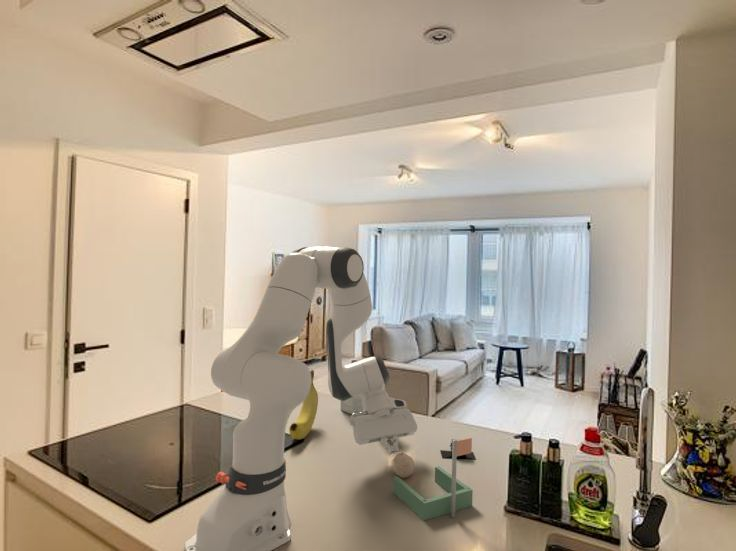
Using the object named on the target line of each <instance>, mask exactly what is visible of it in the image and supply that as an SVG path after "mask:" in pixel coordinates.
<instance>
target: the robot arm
mask: <svg viewBox="0 0 736 551" xmlns="http://www.w3.org/2000/svg"><path fill="white" fill-rule="evenodd" d="M364 269H365V268H364V261H363V258H362V256H361V255H360V254H359V252H358V251H357V250H356V249H354V248H352V247H347V246H341V247H338V246H337V247H335V246H326V245H320V246H312V247H306V246H304V247H299V248H298V249H295V250H293V251H292V252H291V253H288V254H286V255H285V256H283V258H282V259H281V260H280V262H279V263H278V265H277V267H276V268H275V270H274V272H273V274H272V276H271V278H270V280H269V282H268V285H267V287H266V289H265V292H264V295H263V298H262V299H261V303H260V305H259V306H258V307H259V308H258V309H257V312H256V314H255V316H254V318H253V319H252V322H250V324H249V326H248V328H246V330H245V331H244V332H243V334H241V336H240V337H239V339H237V340H236V342H234V343H233V344H232V345H231V346H230V347H228V348H227V349H224V350H223V351H221V352H220V353H219V354H218V355H217V356H216V357H215V358H214V360H213V363H212V365H211V369H210V376H211V381H212V384H213V385H214V386H215V387H216V388H217V389H219V390H220V391H222V392H223V393H225V394H227V395H228V396H230V397H235V398H239V399H243V400H245V401H248V402H249V412H248V415H247V417H246V418H245V419H242V420H241V421H240V422H239V423H238V424H237V425H236V426H235V428H234V430H233V433H232V463H231V464H230V466H229V471H228V473H225V472H224V471H219V472H218V473H217V475H216V476H215V480H216V482H218V483H221V484H223V485H224V484H225V486H224V487H223V488H222V489H221V490H220V492H219V493H218V494H217V496H215V498H214V499H213V500H212V502H211V503H210V504H209V505H208V506H207V508H205V510H204V511H203V512H202V514H201V515H200V518H199V520H198V524H197V530H196V533H195V534H194V535H193V536H192V537H190V538H189V539H188V540H186V541H185V542H184V546H183V547H184V548H183V550H184V551H273V550H275V549H277V548H278V547H281V546H282V545H284V544H286V543H288V542H289V541H290V540H291V538H292V537H291V530H290V527H291V526H290V525H291V519H290V516H289V512H288V507H287V496H286V489H285V480H286V476H287V475H286V474H287V467H286V466H287V465H286V464H287V463H286V459H285V442H286V441H285V438H286V428H287V424H288V421H289V418H290V416H291V415H292V413H293V411H294V410H295V409H296V408H297V407H299V406H300V405H301V404H303V401H304V400H305V399H306V397H307V396H308V394H309V392H310V388H311V382H312V379H311V373H310V372H311V370H310V368H309V366H308V365H307V364H306V363H305V362H303V361H301V360H299V359H297V358H295V357H293V356H290V355H287V354H286V355H285V354H281V353H279V352H280V351H281V350H282V348H283V347H284V346H285V345H287V344H288V343H289V342H291V341H292V340H295V339H296V338H298V337H299V336H300V335H301V333H302V332H303V328H304V326H305V322H306V321H307V320H306V319H307V318H308V314H309V311H310V308H311V304H312V303H313V299H314V296H315V292H316V288H320V289H324V290H325V289H329V291H330V295H331V296H330V297H331V301H332V306H333V308H332V309H333V310H332V315H331V317H330V318H329V319H328V320H327V322H326V327H325V329H326V330H325V333H326V334H325V336H326V339H325V340H326V352H327V353H326V354H327V366H328V367H327V368H328V371H327V372H328V374H327V375H328V376H327V385H328V390H329V393H330V394H331V396H332V397H333V398H335V399H336V400H339V401H340V402H341V401H345V400H347V399H349V398H352V397H353V396H356V395H360V397H361V399H362V406H363V409H364V411H363V412H359V413H353V414H350V417H349V422H350V425H351V427H352V433H353V436H354V440H355V443H356V444H357V445H358V446H362V445H366V444H367V445H368V444H373V443H377V442H380V445H381V446H382V447H384V449H385V450H386V451H387V454H388V455H394V454H399V452H400V449H399V438H402V437H409V436H413V435H415V433H416V432H417V430H418V424H417V422H416V420H415V418H414V415H413V413H412V411H411V410H410V409H408V408H407V407H408V404H407V401H405V400H403V399H397V398H394V397H389V394H388V393H387V391H386V387H387V385H388V383H389V381H390V373H389V372H388V369H387V367H386V365H385V361H384V360H383V359H382V358H381V357H378V356H369V357H366V358H362V359H359V360H357V361H354V362H350V363H348V364H343V361H342V360H343V359H342V357H343V356H342V345H343V343H344V341H345V340H346V339H347V338H348V337H349V336H350V335H352V334H353V333H354V332H355V331H357V330H358V329H360V328H361V327H362V326H364V325H365V324H366V323H367V321H368V320H369V318H371V315H372V311H373V303H372V297H371V291H370V288H369V285H368V280H367V278H366V276H365V273H364ZM389 440H390V441H391V442H392V443H393V445H390V444H389V442H388V441H389Z"/></svg>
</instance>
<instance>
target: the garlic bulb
mask: <svg viewBox="0 0 736 551" xmlns="http://www.w3.org/2000/svg"><path fill="white" fill-rule="evenodd" d="M392 469H393V471H394V474H396V476H398V477H399V478H400V479H401V478H402V479H408V478H409V477H410V476H411V475H412V474H413V473H414V469H415V461H414V459H413V458H412V456H410V455H408V454H407V453H404V452H403V451H402V452H400V453H399V452H398V453H396V455H394V458H393V459H392Z"/></svg>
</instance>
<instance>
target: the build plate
mask: <svg viewBox="0 0 736 551" xmlns="http://www.w3.org/2000/svg"><path fill="white" fill-rule="evenodd" d="M453 440H455V439H451V442H450V445H449V448H450V450H446V449H445V450H444V449H443V450H442V449H441V450H439V452H440V455H441V458H442V460H444V459H445V460H452V446H453ZM457 460H465V461H466V460H467V461H477V459H476V456H475V454H474V451H471V453H470V454H465V455H461V456H457Z"/></svg>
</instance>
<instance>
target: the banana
mask: <svg viewBox="0 0 736 551" xmlns="http://www.w3.org/2000/svg"><path fill="white" fill-rule="evenodd" d="M310 373H311V379H312V382H311V388H310V392H309V394H308V396H307V397H306V399H305V400H304V401H303V402H302V403H301V404H302V405H301V408H300V411H299V415H298V417H297V419H296V421H293V423H291V425H290V426H289V430H288V431H289V435H290V437H291V438H292V439H294V440H302V439H303V440H304V439H305V438H306V437H307V436H308V434H310V431H311V430H312V428H313V425H314V423H315V419H316V415H317V412H318V406H319V405H318V404H319V396H318V391H317V389H316V387H315V385H314V378H315V376H314V375H315V371H314V370H313V369H311V370H310Z"/></svg>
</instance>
